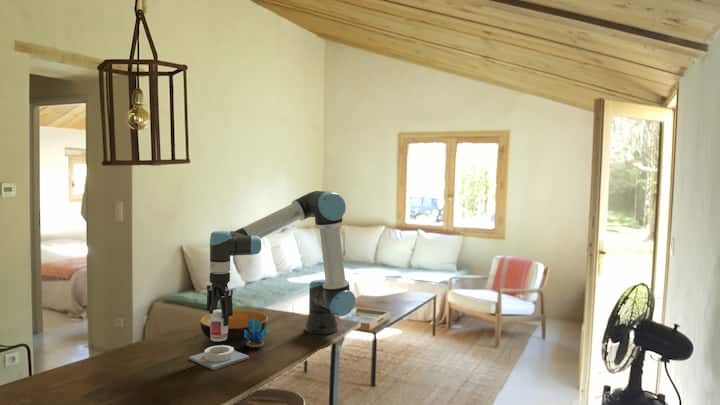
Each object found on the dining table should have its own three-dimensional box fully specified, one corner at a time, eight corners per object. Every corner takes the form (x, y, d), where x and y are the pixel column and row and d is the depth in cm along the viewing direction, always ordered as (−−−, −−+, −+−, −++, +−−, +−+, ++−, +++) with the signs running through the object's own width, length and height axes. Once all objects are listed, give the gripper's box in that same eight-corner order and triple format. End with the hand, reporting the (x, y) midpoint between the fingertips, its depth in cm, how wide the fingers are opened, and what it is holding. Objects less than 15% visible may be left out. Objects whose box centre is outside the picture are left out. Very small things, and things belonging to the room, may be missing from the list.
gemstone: (262, 348, 211) (262, 319, 210) (242, 346, 212) (242, 318, 211) (268, 342, 218) (269, 314, 217) (249, 341, 219) (249, 313, 219)
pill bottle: (229, 340, 196) (229, 311, 196) (213, 342, 193) (213, 313, 192) (223, 335, 201) (224, 308, 201) (208, 338, 198) (208, 309, 197)
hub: (224, 348, 209) (224, 340, 209) (249, 358, 199) (249, 349, 198) (189, 359, 197) (189, 350, 196) (213, 370, 186) (213, 360, 186)
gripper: (197, 269, 199) (196, 328, 200) (226, 277, 187) (225, 339, 188) (213, 267, 205) (212, 324, 206) (243, 274, 193) (242, 335, 194)
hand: (218, 331), depth 197 cm, fingers closed on pill bottle, 6 cm apart
